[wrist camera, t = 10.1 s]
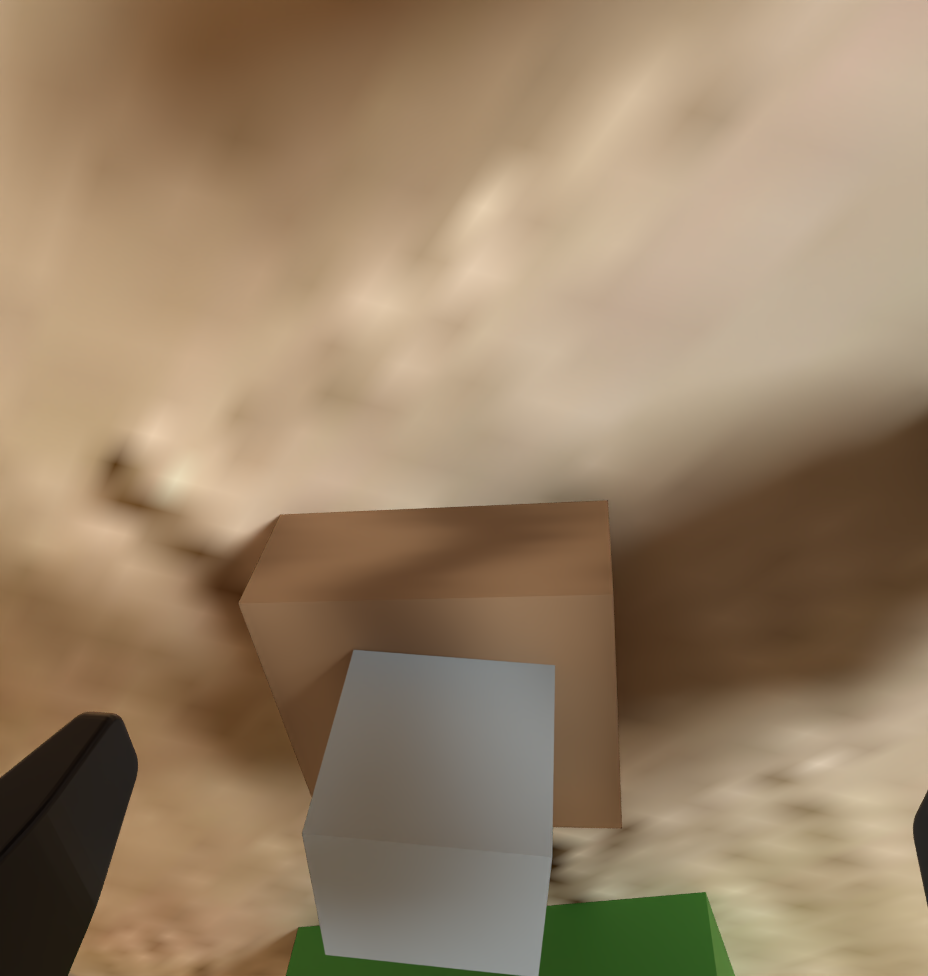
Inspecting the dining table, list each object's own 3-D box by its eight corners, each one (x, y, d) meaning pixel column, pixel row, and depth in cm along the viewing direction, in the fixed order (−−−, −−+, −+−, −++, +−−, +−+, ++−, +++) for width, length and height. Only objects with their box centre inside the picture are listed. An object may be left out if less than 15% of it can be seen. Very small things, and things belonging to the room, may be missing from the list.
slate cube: (555, 665, 20) (552, 857, 16) (543, 788, 23) (538, 977, 19) (353, 649, 21) (301, 833, 17) (366, 773, 24) (325, 954, 20)
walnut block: (607, 492, 22) (613, 594, 19) (616, 717, 27) (622, 828, 24) (284, 506, 24) (238, 603, 20) (349, 717, 29) (321, 822, 25)
